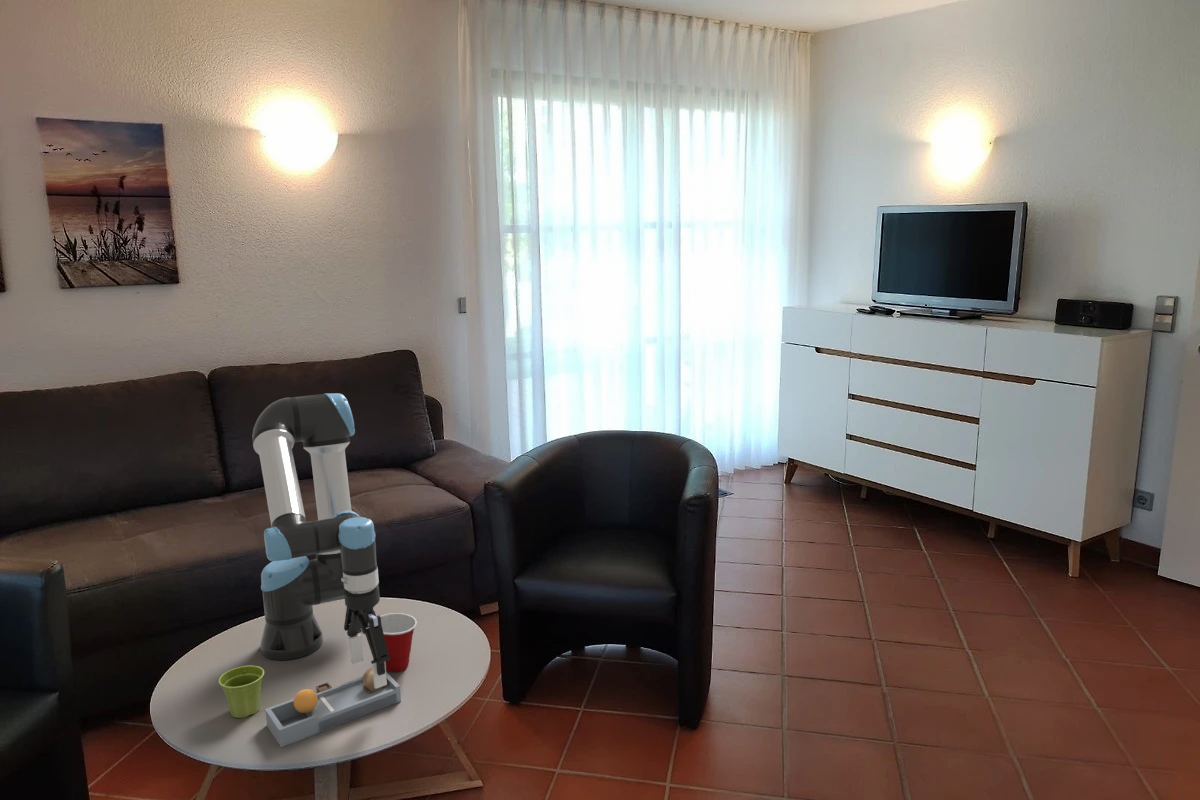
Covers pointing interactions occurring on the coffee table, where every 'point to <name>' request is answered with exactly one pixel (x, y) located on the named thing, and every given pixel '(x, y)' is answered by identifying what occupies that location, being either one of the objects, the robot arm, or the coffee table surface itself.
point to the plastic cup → (398, 639)
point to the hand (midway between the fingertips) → (368, 673)
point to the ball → (305, 701)
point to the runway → (329, 710)
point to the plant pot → (242, 689)
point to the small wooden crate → (323, 687)
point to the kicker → (370, 682)
